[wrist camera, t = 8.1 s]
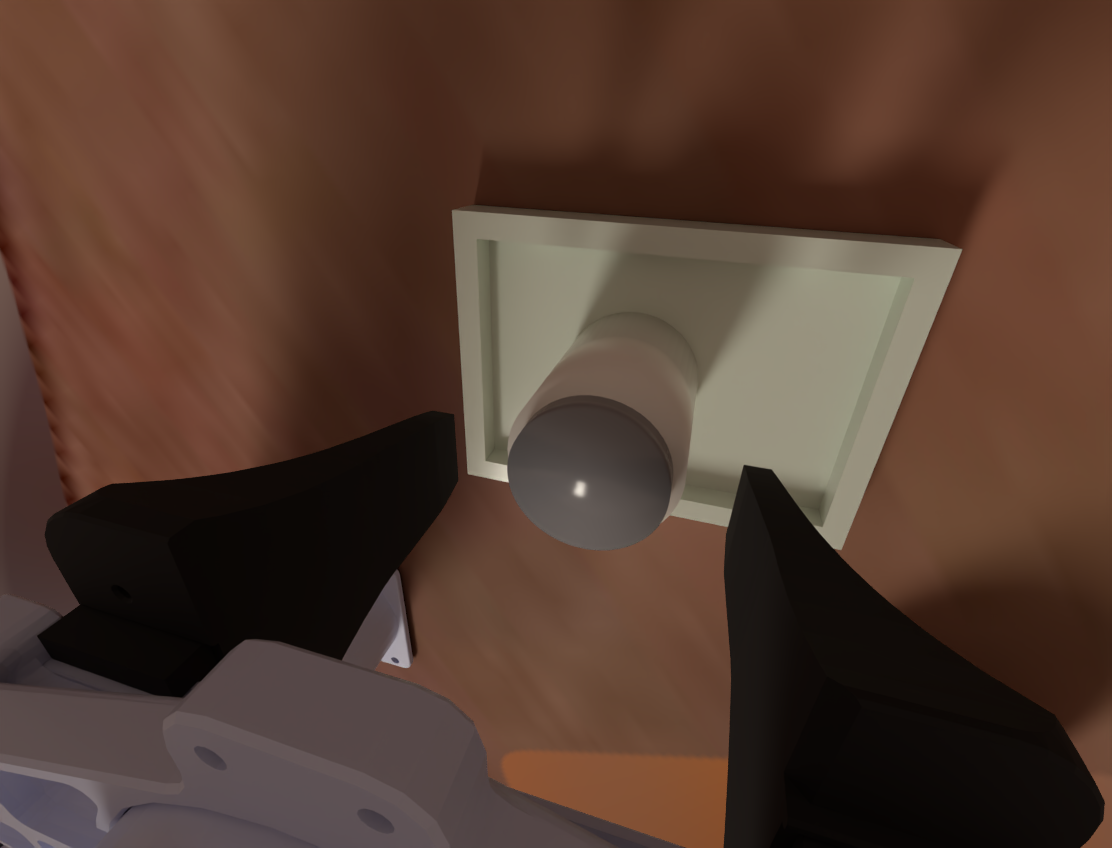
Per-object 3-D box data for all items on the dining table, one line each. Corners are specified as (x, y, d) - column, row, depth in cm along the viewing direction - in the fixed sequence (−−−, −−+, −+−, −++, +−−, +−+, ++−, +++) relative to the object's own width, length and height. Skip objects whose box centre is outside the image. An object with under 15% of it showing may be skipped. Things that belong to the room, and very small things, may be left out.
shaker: (563, 421, 20) (495, 535, 14) (571, 303, 17) (495, 381, 12) (684, 444, 19) (665, 578, 13) (710, 322, 16) (702, 418, 11)
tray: (483, 454, 22) (467, 473, 21) (472, 204, 17) (451, 209, 16) (833, 521, 19) (841, 550, 18) (940, 239, 14) (962, 248, 13)
